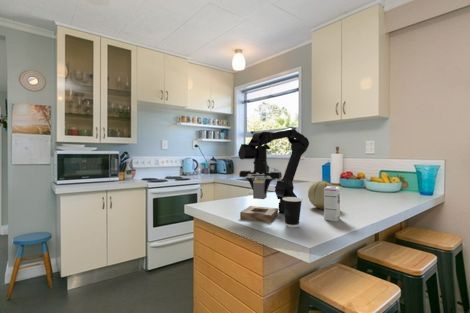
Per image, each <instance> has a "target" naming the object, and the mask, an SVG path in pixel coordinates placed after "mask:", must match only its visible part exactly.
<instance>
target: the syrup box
mask: <svg viewBox="0 0 470 313" xmlns="http://www.w3.org/2000/svg"><path fill="white" fill-rule="evenodd" d="M340 190H341V187H339V186H334V185H333V186H327V187H326V188H324V209H323V215H324V216H323V219H324V220H326V221H332V222H338V221H339V220H340V218H341V216H340V215H341V213H340V212H341V198H340V197H341V194H340V192H341V191H340Z"/></svg>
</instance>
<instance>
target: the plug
mask: <svg viewBox="0 0 470 313" xmlns="http://www.w3.org/2000/svg"><path fill="white" fill-rule="evenodd" d="M267 193H268V192H267ZM267 193H266V194H265V179H255V181H253V189H252V194H253V195H252V198H253V200H254V199H258V200H265V199H267V196H268V195H267Z"/></svg>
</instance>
